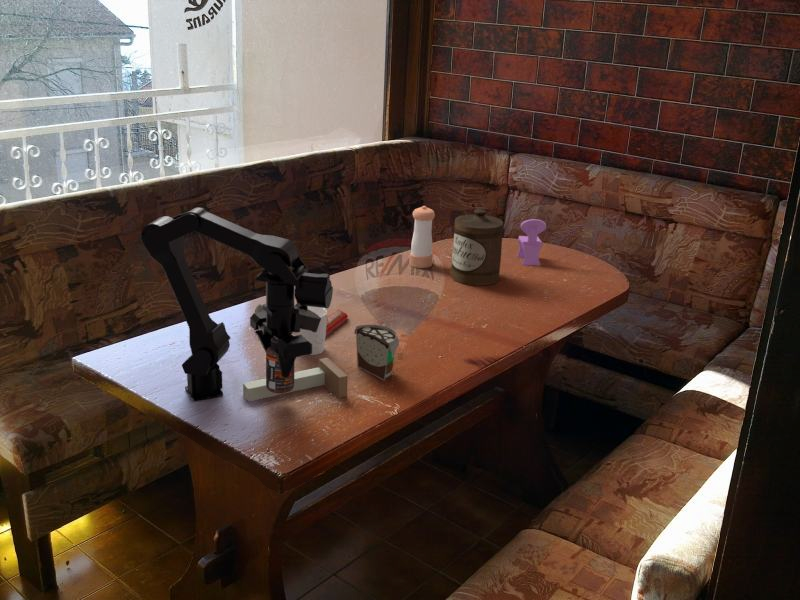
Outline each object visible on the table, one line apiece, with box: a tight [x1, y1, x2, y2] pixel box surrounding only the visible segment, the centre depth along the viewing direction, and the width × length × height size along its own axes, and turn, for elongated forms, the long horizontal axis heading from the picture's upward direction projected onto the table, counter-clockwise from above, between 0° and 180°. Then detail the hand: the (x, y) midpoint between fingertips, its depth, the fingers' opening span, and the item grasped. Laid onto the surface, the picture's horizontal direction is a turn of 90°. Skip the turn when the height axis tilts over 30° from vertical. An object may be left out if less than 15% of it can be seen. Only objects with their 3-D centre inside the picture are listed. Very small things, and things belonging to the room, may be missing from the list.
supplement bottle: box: [265, 337, 296, 394], centre depth 175 cm, size 6×6×11 cm
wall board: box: [242, 357, 348, 402], centre depth 181 cm, size 20×10×5 cm, turn 121°
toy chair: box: [516, 218, 547, 267], centre depth 273 cm, size 8×9×15 cm
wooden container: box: [450, 207, 504, 286], centre depth 254 cm, size 15×15×22 cm
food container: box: [353, 324, 400, 382], centre depth 193 cm, size 12×6×10 cm, turn 44°
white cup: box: [294, 306, 328, 356], centre depth 202 cm, size 8×8×10 cm
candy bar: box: [326, 309, 349, 337], centre depth 216 cm, size 16×4×3 cm, turn 158°
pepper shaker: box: [409, 205, 436, 269], centre depth 263 cm, size 7×7×19 cm
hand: (280, 370), depth 176 cm, fingers closed on supplement bottle, 6 cm apart
